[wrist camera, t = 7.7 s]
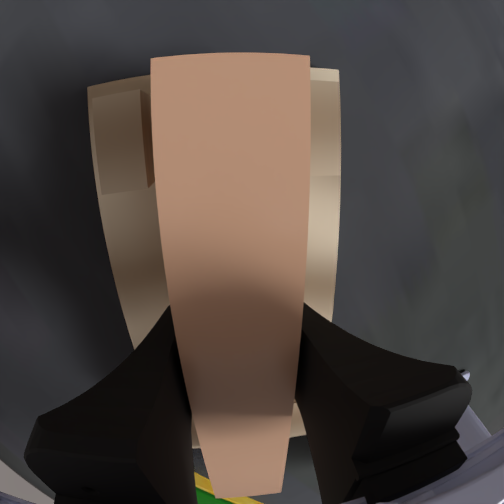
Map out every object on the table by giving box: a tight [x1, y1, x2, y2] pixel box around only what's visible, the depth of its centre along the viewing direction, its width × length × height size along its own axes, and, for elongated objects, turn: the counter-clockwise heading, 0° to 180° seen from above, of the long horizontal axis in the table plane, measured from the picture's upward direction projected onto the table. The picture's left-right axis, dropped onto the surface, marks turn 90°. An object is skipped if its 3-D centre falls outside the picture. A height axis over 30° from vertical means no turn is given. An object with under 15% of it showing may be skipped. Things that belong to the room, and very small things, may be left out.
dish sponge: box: [194, 472, 263, 504], centre depth 23 cm, size 7×14×2 cm, turn 32°
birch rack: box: [87, 68, 341, 448], centre depth 13 cm, size 18×10×4 cm, turn 3°
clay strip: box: [151, 53, 311, 498], centre depth 10 cm, size 16×3×5 cm, turn 1°
